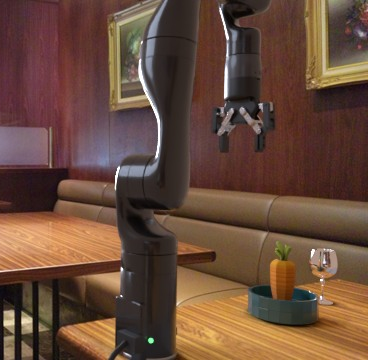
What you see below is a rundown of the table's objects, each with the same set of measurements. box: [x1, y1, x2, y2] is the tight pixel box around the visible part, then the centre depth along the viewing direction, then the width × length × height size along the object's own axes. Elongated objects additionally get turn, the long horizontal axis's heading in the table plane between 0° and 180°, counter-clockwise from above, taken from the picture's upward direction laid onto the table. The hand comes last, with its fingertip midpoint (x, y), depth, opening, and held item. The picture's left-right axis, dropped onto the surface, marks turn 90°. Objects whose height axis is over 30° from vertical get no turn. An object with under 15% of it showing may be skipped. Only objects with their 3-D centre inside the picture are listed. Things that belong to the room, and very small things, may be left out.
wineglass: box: [308, 247, 339, 306], centre depth 113 cm, size 6×6×12 cm
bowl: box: [247, 284, 320, 326], centre depth 103 cm, size 13×13×5 cm
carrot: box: [269, 241, 297, 301], centre depth 102 cm, size 5×5×15 cm
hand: (241, 152), depth 108 cm, fingers open, 8 cm apart
